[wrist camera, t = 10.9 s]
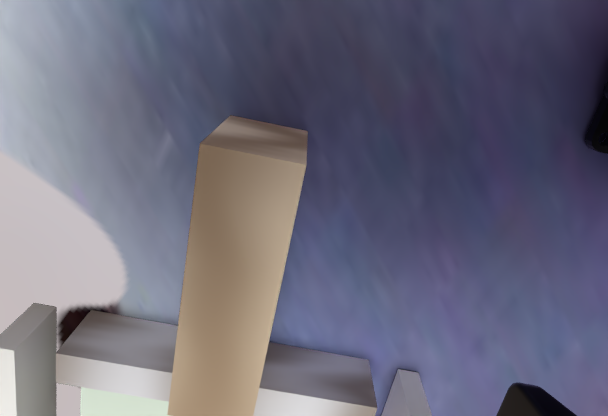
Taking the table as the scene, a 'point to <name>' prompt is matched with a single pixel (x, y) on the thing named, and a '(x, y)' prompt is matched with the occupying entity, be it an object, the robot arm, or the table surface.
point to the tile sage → (119, 404)
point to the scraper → (226, 301)
